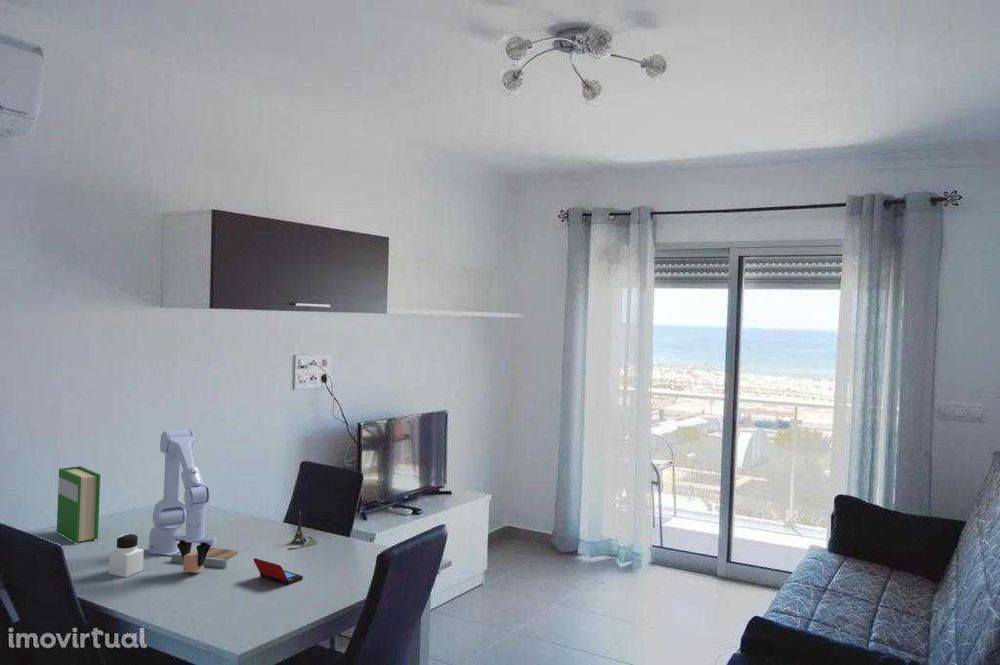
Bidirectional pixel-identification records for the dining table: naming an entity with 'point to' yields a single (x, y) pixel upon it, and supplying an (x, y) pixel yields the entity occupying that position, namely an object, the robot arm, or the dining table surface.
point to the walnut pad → (220, 553)
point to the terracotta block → (191, 563)
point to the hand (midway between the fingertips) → (193, 564)
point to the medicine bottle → (126, 557)
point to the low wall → (208, 561)
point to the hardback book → (78, 503)
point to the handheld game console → (276, 572)
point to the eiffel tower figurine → (301, 537)
